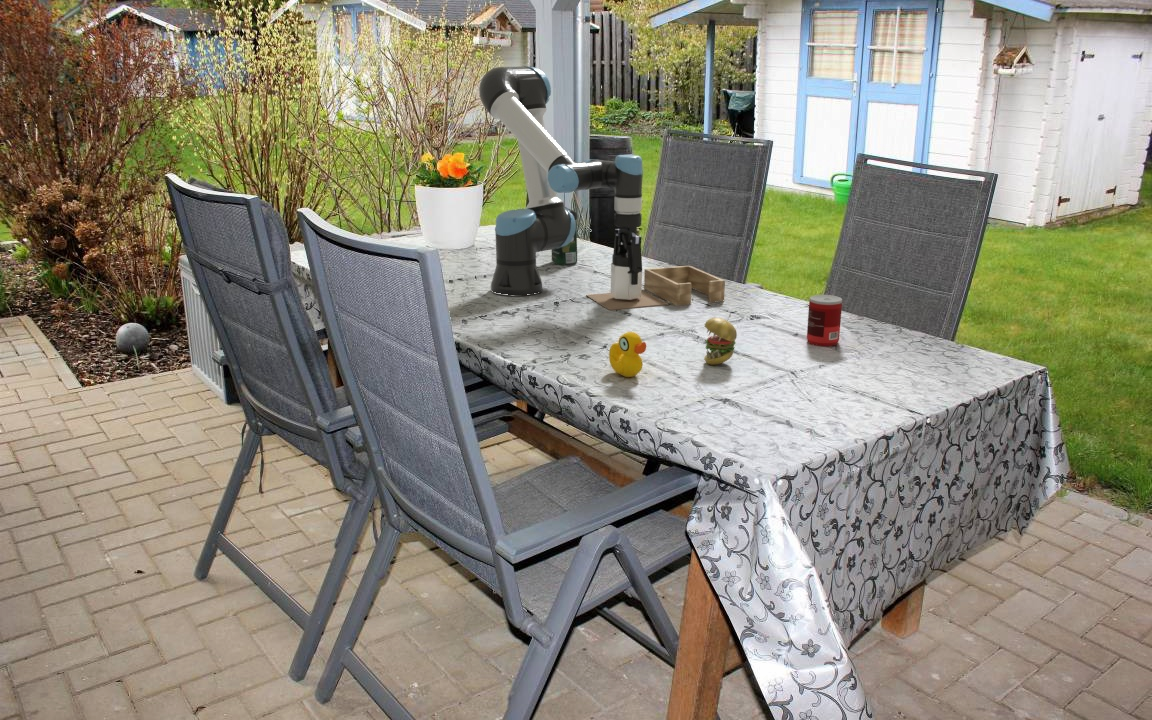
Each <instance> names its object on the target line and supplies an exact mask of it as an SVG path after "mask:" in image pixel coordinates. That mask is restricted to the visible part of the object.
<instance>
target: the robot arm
mask: <svg viewBox="0 0 1152 720" xmlns="http://www.w3.org/2000/svg"><path fill="white" fill-rule="evenodd" d="M478 91H479V92H478V93H479V99H480V100H481V101H480V102H481V104H482V105H483V108H484V109H485V110H486V111H487V113H488V114H489V115H490V116H491V117H492V118H493V119H495V120H500V122H502V124H503V125H504V126H505V127H506V129H508V130H509V132H510V133H511V134H512V135H513V136H514V137H515V138H516V140H517V142H518V143H517V144H518V149H519V153H520V160H521V164H522V170H523V175H524V176H523V177H524V182H525V186H526V191H527V197H528V204H526V206H525V208H518V209H511V210H510V209H509V210H506V211H503V212H500V213H499V214H498V215H497V216H496V218H495V228H494V233H495V254H496V255H495V258H496V259H495V261H496V264H495V269H494V271H493V277H492V280H491V283H490V291H491V290H492V291H493V292H496V293H501V294H508V295H527V294H534V293H538V292H540V293H542V292H543V281H542V279H541V276H540V272H539V269H538V267H537V253H539V252H540V253H541V252H545V251H549V250H551V251H552V249H558V248H560V247H564V246H566V245H567V244H569V243H570V242H571V240H572V238H573V237H574V234H575V229H576V224H575V219H574V216H573V214H571V213H570V211H569V210H567V209H565V208H564V207H565V204H564V200H562V199H561V198H559V197H558V194H557V193H563V194H564V193H572V192H578V191H579V192H580V191H585V190H593V189H600V188H601V189H612V190H614V205H613V206H614V208H613V209H614V211H615V213H614V218H613V219H614V221H613V222H614V223H613V224H614V226H615V227H617V228H615V229H614V230H613V231H614V243H613V254H615V253H627V255H628V262H629V269H630V271H628V296H637V295H638V273H639V272H642V273H643V260H642V258H643V256H642V239H643V237H642V236H641V235H637V233H638V232H637V228H640V227H641V226H642V221H643V220H642V217H643V216H642V212H641V211H642V208H643V207H642V203H643V202H644V200H643V197H642V196H643V194H642V193H643V192H642V191H643V190H642V189H643V174H644V169H643V159H642V157H641V156H640V155H637V154H619V155H616V156H615V160H614V161H611V160H603V159H599V158H598V159H597V158H594V159H586V160H585V161H582V162H576V161H575V160H574V159H573V158H572V157H571V156H570V154H568V153H567V151H566V150H564V149H563V147H562V146H561V145H560V144H559V143H558V142H557V140H555V139H554V138H553V136H551V134H549V132H548V131H547V130H546V127H545V122H544V117H543V116H544V114H545V113H546V112H547V105H546V104H548V102H549V101H550V96H551V95H552V87H551V82H550V80H549V77H548V75H546V74H545V72H543V70H541V69H540V68H538V67H532V66H525V65H523V66H497V67H493V68H491V69H490V70H488V71H487V72H486V73H485V74H484V75H483V77H482V78H481V80H480V83H479V87H478ZM613 254H612V255H613ZM538 294H539V293H538ZM534 295H535V294H534Z"/></svg>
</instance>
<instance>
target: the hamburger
mask: <svg viewBox="0 0 1152 720" xmlns="http://www.w3.org/2000/svg"><path fill="white" fill-rule="evenodd" d="M731 315H732V312H730V313H729V315H728V318H727V320H726V319H723V318H722V317H712V318H708V320H707V321H705V323H704V328H705V329H707V331H706V334H707V335H708V337H707V339H705V340H704V341H705V342H706V345H705V349H706V350H707V351H706V355H704V358H703V360H704V361H705V363H706V364H708V365H710V366H715V365H721V364H723V363H725V362H727V361H729V360H730V359H731V358H732V356H733V355H734V351H735V347H736V346H735V345H736V343H737V342H736V339H737V336H738V334H737V330H736V328H735V326H734V325H733V324H732V323H731V322H729V321H728V320H729V318H731ZM708 332H709V333H708ZM712 333H713V335H711V334H712Z"/></svg>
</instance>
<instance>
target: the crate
mask: <svg viewBox="0 0 1152 720" xmlns="http://www.w3.org/2000/svg"><path fill="white" fill-rule="evenodd" d="M643 283H644V285H643V286H644V287H643V290H644V291H646V292H648V293H650V294H652V295H655V296H656V297H658V298H660V299H662V300H663V301H665V302H667V303H669V304H672V305H674V306H676V307H678V306H686V305H688V306H689V305H692V289H693V288H694V290H695V289H696V290H695V291H697V290H698V291H697V292H700V293H702V294H704V293H705V294H704V295H706V294H707V295H706V296H708V295H709V296H708V300H707V301H709V302H708V303H710V302H711V303H716V302H715V301H722V302H724V301H725V293H726V292H725V290H726V288H725V287H726V280H725V279H724V278H723V279H722V278H721V277H717V276H715V275H714V274H710V273H709V272H706V271H704V270H702V269H699V268H697V267H695V266H692V265H683V266H669V267H667V266H666V267H655V268H645V269H644V281H643ZM723 300H724V301H723Z"/></svg>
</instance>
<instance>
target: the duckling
mask: <svg viewBox="0 0 1152 720" xmlns="http://www.w3.org/2000/svg"><path fill="white" fill-rule="evenodd" d="M646 349H647V343H646V342H645V341H643V340H642V338H641V336H640V335H639V333H636V332H635V331H627V332H625V333H623V334H622V335H621V336H619V337H618V342H614V343H612V344H611V346H610V347H609V354H608V355H609V356H608V358H609V360H608V361H609V363H610V366H611V368H612V369H613V371H615V373H617V374H619V375H621V376H623V377H626V378H632V377H635V376H636V375H638V374H639V373H640V372H641V371H642V369H643V365H644V364H643V359H642V357H641V356H640V355H641V354H643V353H645V352H646Z"/></svg>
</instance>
